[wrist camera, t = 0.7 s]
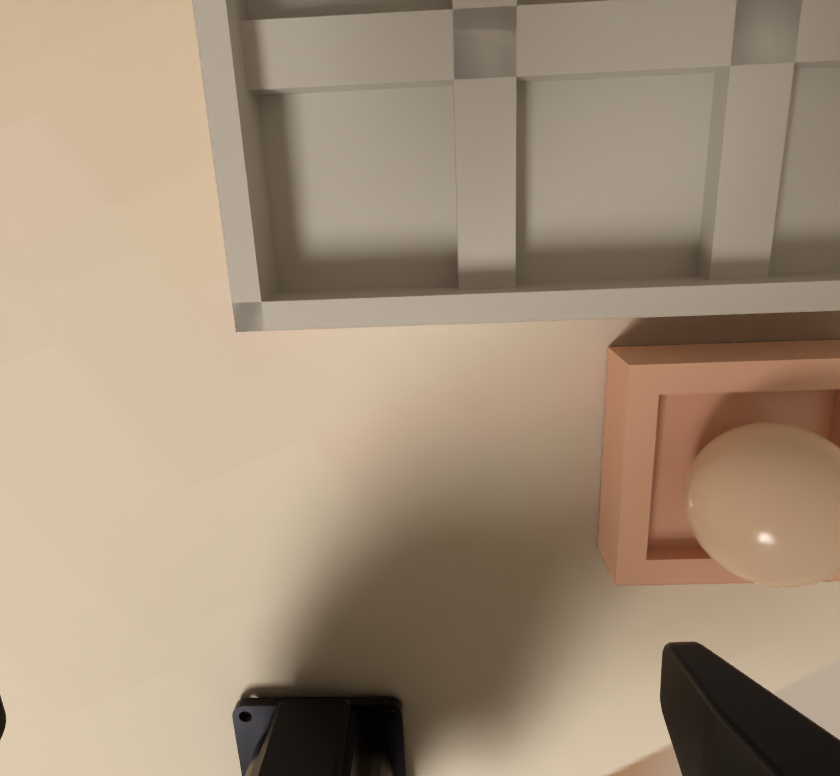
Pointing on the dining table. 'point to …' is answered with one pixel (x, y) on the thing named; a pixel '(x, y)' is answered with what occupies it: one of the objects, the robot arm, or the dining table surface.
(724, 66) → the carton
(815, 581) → the brown egg
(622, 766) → the dining table surface
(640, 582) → the egg dish
